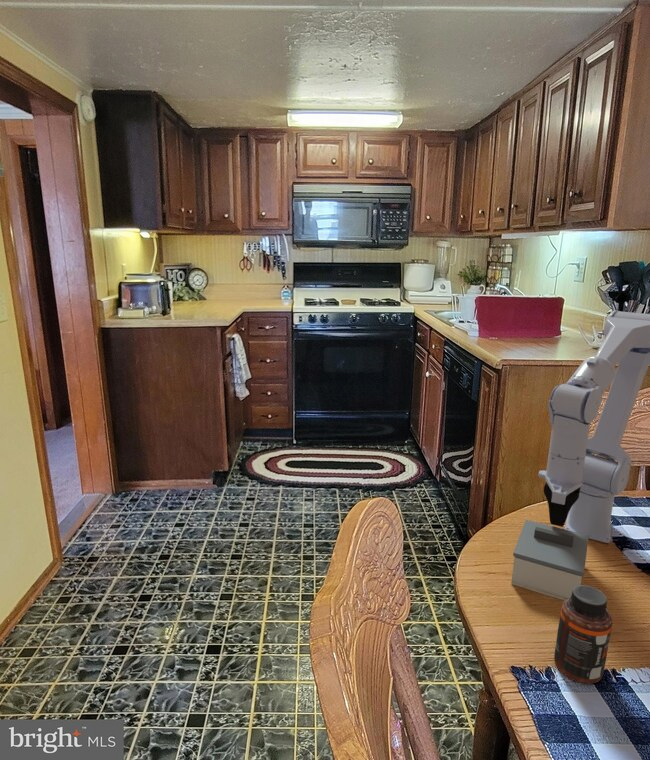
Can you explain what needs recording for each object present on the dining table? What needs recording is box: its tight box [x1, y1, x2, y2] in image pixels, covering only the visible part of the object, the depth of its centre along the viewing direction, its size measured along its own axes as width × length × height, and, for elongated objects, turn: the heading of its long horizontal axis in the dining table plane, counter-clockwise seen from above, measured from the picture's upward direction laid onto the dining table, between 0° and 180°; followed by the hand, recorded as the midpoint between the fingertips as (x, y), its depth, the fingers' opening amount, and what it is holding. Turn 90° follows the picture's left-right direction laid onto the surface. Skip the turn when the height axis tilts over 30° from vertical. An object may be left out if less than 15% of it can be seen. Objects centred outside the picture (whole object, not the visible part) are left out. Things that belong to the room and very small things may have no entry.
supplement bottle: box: [553, 584, 613, 685], centre depth 66 cm, size 6×6×11 cm
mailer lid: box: [512, 519, 589, 577], centre depth 86 cm, size 12×10×2 cm
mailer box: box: [510, 556, 583, 601], centre depth 87 cm, size 12×10×5 cm
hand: (557, 523), depth 91 cm, fingers closed
